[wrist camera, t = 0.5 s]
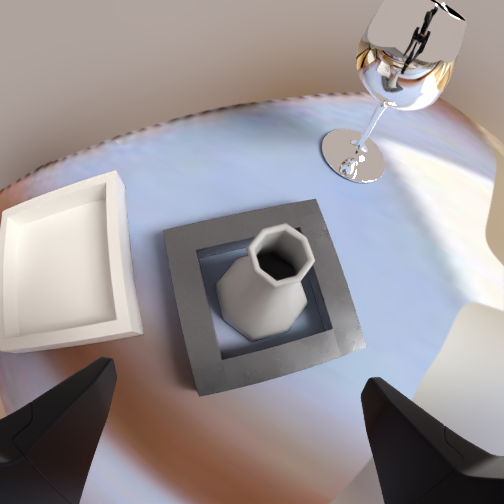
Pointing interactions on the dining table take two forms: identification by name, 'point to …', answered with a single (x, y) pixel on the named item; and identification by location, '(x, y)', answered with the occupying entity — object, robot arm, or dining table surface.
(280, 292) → the flask
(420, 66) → the wineglass
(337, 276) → the holder
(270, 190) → the dining table surface
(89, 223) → the tray
